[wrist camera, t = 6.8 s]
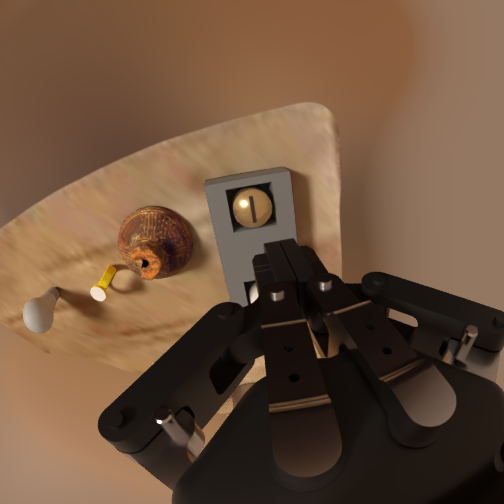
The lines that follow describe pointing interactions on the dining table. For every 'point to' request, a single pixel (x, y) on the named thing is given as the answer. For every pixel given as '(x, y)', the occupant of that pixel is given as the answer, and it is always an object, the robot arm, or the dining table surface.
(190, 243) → the broken clay vessel
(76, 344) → the dining table surface
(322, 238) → the dining table surface
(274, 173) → the knob mount
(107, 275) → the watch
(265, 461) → the robot arm
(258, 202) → the brass knob
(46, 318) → the lightbulb
